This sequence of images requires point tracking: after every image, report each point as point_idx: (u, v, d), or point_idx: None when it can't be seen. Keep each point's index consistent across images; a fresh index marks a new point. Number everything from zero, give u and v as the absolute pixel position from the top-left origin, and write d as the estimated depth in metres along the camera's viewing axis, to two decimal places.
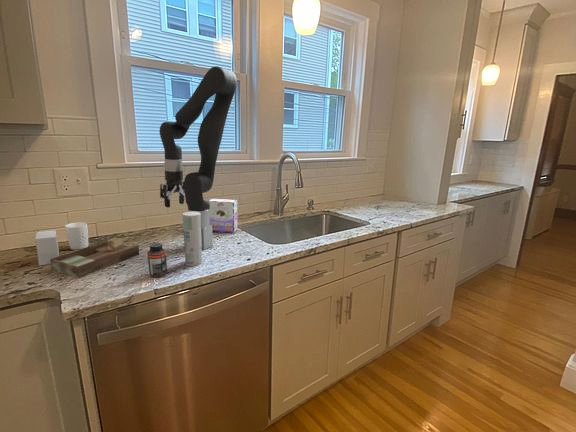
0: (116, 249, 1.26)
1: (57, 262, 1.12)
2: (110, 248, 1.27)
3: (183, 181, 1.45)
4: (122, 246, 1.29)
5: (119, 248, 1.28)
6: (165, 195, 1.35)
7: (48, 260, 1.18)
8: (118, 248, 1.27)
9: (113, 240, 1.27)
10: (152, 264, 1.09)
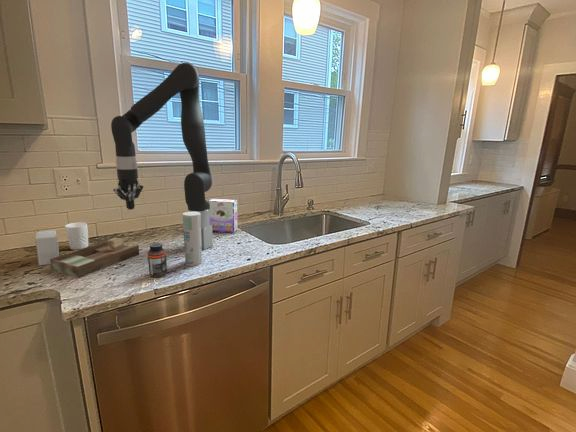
0: (116, 249, 1.26)
1: (57, 262, 1.12)
2: (110, 248, 1.27)
3: (140, 185, 1.35)
4: (122, 246, 1.29)
5: (119, 248, 1.28)
6: (126, 196, 1.28)
7: (48, 260, 1.18)
8: (118, 248, 1.27)
9: (113, 240, 1.27)
10: (152, 264, 1.09)
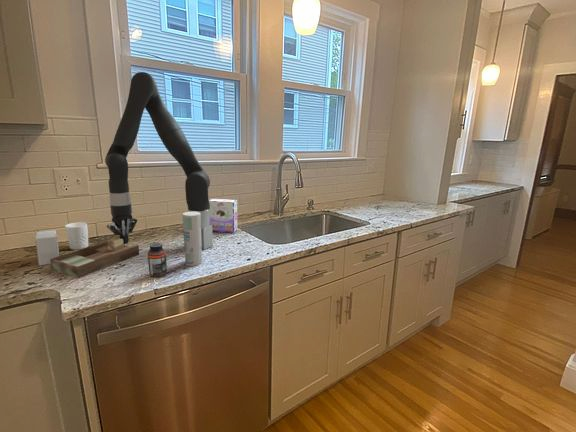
0: (116, 249, 1.26)
1: (57, 262, 1.12)
2: (110, 248, 1.27)
3: None
4: (122, 246, 1.29)
5: (119, 248, 1.28)
6: (119, 232, 1.28)
7: (48, 260, 1.18)
8: (118, 248, 1.27)
9: (113, 240, 1.27)
10: (152, 264, 1.09)
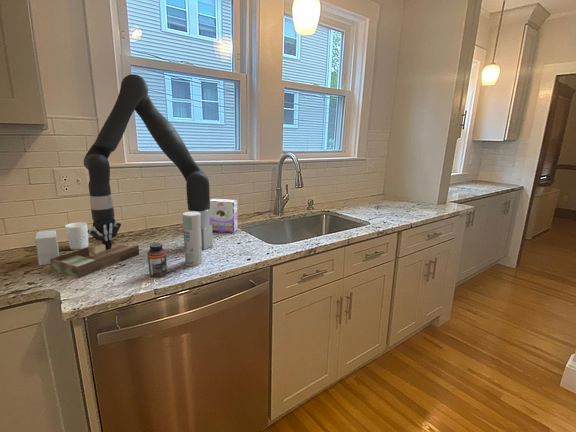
0: (97, 255, 1.19)
1: (57, 262, 1.12)
2: (91, 254, 1.20)
3: None
4: (104, 252, 1.22)
5: (101, 254, 1.21)
6: (101, 237, 1.21)
7: (48, 260, 1.18)
8: (100, 254, 1.20)
9: (94, 246, 1.20)
10: (152, 264, 1.09)
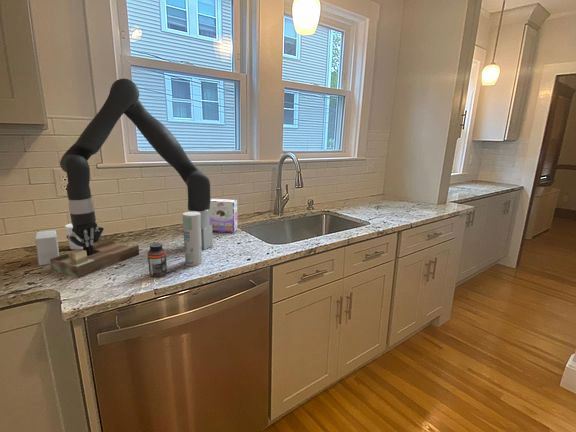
0: (78, 262, 1.13)
1: (57, 262, 1.12)
2: (71, 261, 1.14)
3: (99, 227, 1.21)
4: (85, 258, 1.15)
5: (81, 261, 1.14)
6: (82, 243, 1.14)
7: (48, 260, 1.18)
8: (80, 261, 1.14)
9: (74, 252, 1.13)
10: (152, 264, 1.09)
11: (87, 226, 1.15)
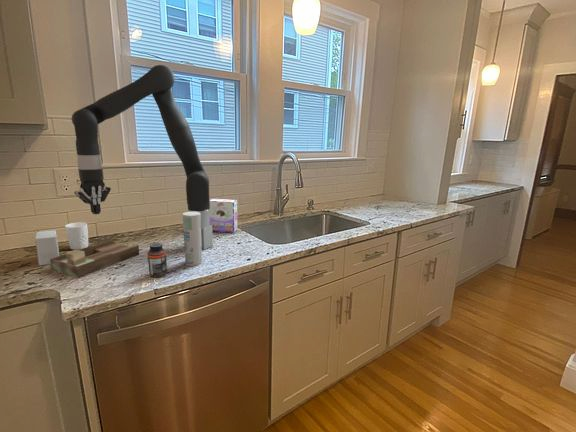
0: (76, 263, 1.12)
1: (57, 262, 1.12)
2: (69, 262, 1.13)
3: (107, 187, 1.21)
4: (83, 259, 1.15)
5: (79, 262, 1.13)
6: (89, 200, 1.15)
7: (48, 260, 1.18)
8: (78, 262, 1.13)
9: (72, 253, 1.13)
10: (152, 264, 1.09)
11: (95, 184, 1.16)
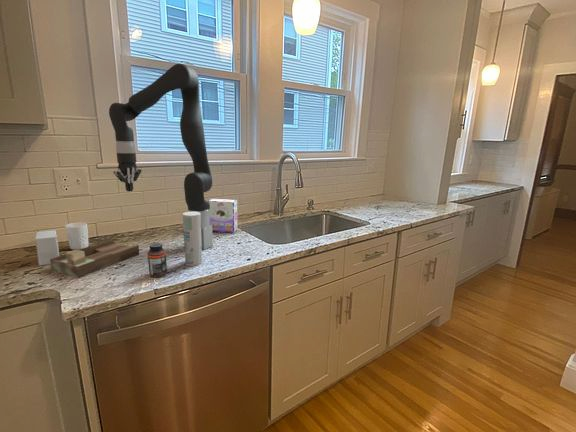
0: (76, 263, 1.12)
1: (57, 262, 1.12)
2: (69, 262, 1.13)
3: (138, 169, 1.44)
4: (83, 259, 1.15)
5: (79, 262, 1.13)
6: (125, 179, 1.38)
7: (48, 260, 1.18)
8: (78, 262, 1.13)
9: (72, 253, 1.13)
10: (152, 264, 1.09)
11: (129, 165, 1.39)
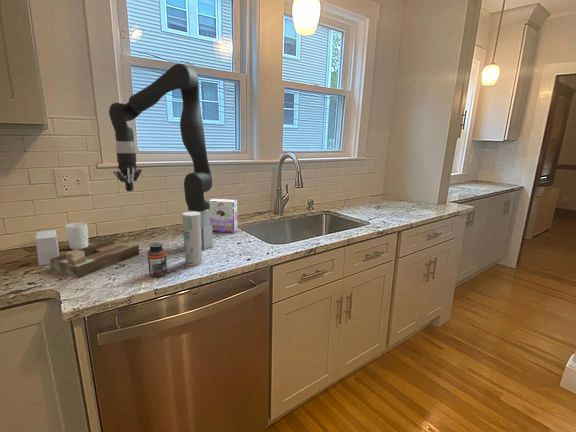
0: (76, 263, 1.12)
1: (57, 262, 1.12)
2: (69, 262, 1.13)
3: (138, 169, 1.44)
4: (83, 259, 1.15)
5: (79, 262, 1.13)
6: (125, 179, 1.38)
7: (48, 260, 1.18)
8: (78, 262, 1.13)
9: (72, 253, 1.13)
10: (152, 264, 1.09)
11: (129, 165, 1.39)
